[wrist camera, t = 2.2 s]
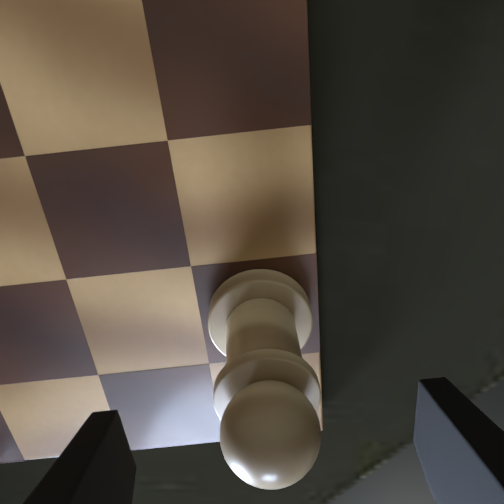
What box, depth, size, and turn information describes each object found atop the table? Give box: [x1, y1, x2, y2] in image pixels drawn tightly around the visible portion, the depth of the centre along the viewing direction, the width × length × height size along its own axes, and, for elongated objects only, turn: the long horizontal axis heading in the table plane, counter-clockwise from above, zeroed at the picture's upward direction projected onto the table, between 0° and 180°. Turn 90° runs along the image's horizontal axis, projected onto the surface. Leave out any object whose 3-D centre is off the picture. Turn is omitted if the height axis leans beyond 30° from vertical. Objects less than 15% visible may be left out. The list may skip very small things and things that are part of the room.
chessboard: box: [0, 0, 323, 463], centre depth 14 cm, size 20×16×1 cm
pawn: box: [208, 269, 321, 489], centre depth 12 cm, size 3×3×6 cm
